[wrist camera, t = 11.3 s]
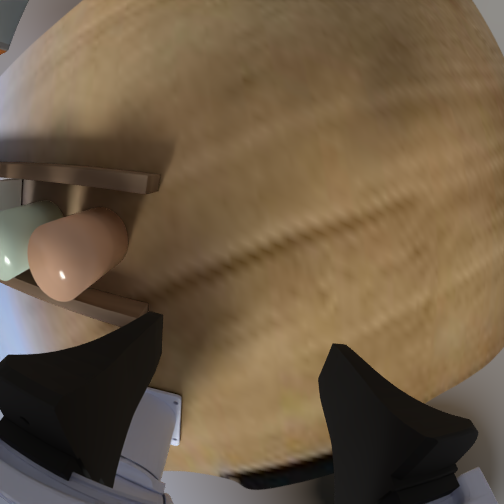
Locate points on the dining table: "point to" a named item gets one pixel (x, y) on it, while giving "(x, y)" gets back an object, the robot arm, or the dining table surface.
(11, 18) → the alarm clock
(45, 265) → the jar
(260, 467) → the dining table surface
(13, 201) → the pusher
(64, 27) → the dining table surface
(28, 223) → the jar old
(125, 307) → the lane
